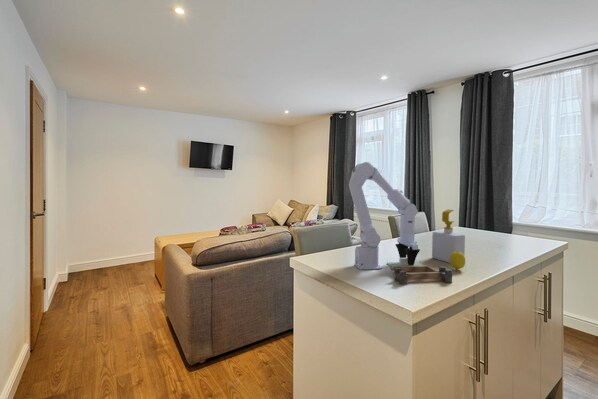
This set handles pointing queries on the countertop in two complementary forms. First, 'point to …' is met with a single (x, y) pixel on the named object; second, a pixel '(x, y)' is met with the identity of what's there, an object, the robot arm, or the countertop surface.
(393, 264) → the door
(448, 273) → the brown wooden tray
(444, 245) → the soap bottle
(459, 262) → the lemon
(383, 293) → the countertop surface
